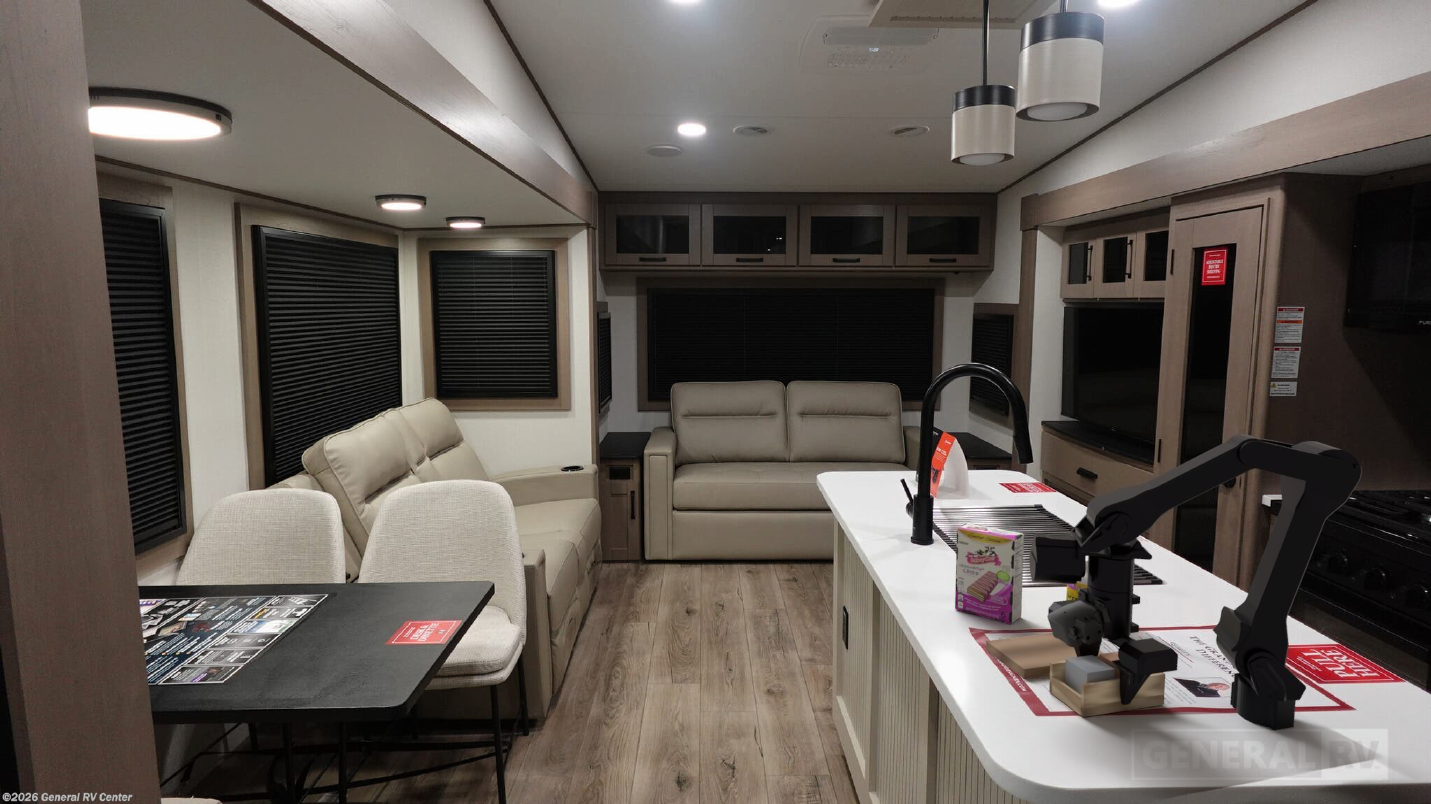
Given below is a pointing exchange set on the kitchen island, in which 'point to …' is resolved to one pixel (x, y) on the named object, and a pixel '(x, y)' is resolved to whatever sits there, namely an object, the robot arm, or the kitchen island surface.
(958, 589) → the candy bar box
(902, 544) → the kitchen island surface
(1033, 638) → the plate
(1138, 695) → the wooden tray
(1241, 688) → the robot arm
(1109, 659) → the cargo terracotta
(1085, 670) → the block
